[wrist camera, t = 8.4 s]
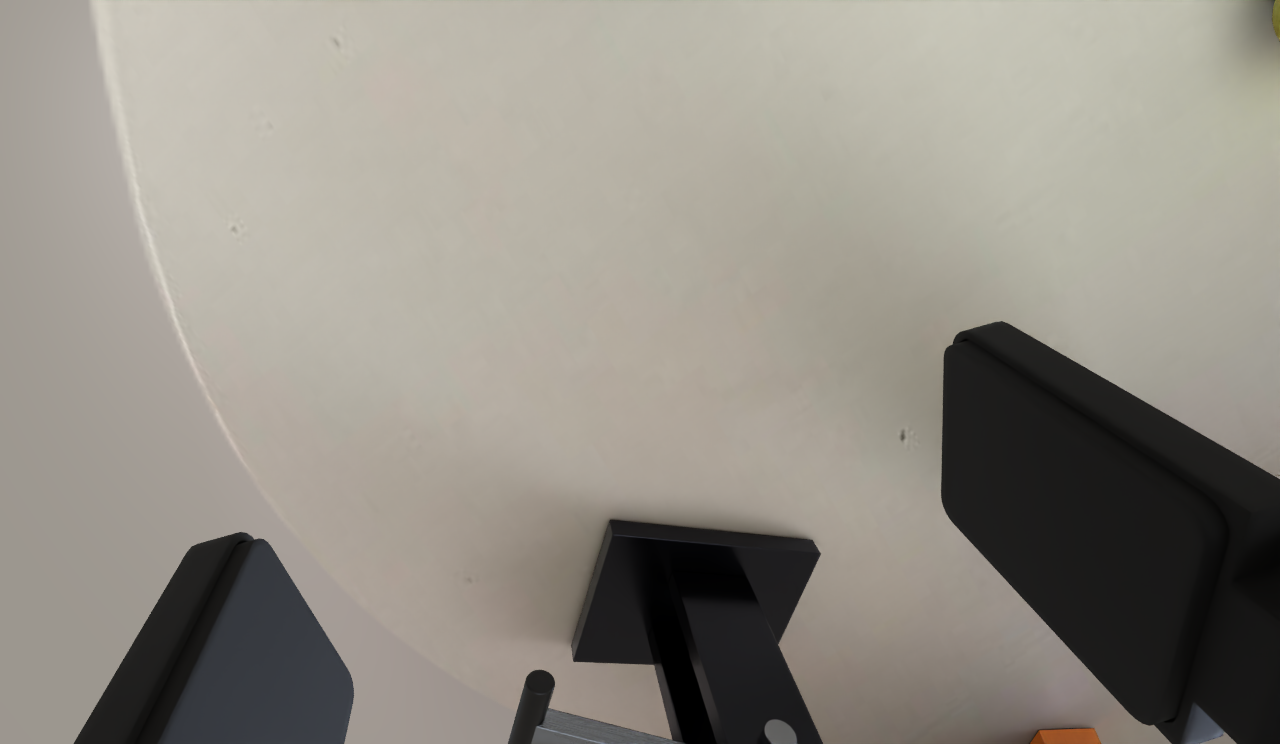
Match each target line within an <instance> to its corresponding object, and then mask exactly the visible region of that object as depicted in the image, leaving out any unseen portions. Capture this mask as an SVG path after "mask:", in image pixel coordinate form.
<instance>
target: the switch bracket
mask: <svg viewBox="0 0 1280 744" xmlns="http://www.w3.org/2000/svg"><path fill="white" fill-rule="evenodd" d="M820 555H821V553H820V551H819V550H818V548H817V547H816V545H815V543H814V542H813V540H807V539H797V538H787V537H777V536H767V535H757V534H747V533H737V532H727V531H717V530H707V529H697V528H687V527H678V526H668V525H658V524H648V523H638V522H628V521H618V520H610V521H609V524H608V527H607V530H606V534H605V537H604V540H603V543H602V547H601V550H600V553H599V556H598V560H597V563H596V566H595V569H594V573H593V576H592V579H591V582H590V586H589V589H588V592H587V595H586V599H585V602H584V605H583V608H582V612H581V615H580V618H579V621H578V625H577V628H576V631H575V635H574V638H573V641H572V644H571V648H572V656H573V661H574V662H594V663H619V664H645V665H654V666H655V670H656V674H657V679H658V683H659V687H660V691H661V695H662V699H663V703H664V707H665V711H666V715H667V719H668V723H669V727H670V731H671V735H672V739H673V740H674V741H678V742H682V743H685V744H823V742H822V740H821V738H820V735H819V733H818V731H817V729H816V727H815V725H814V722H813V720H812V718H811V716H810V714H809V711H808V709H807V707H806V705H805V703H804V700H803V698H802V696H801V694H800V692H799V690H798V687H797V685H796V683H795V681H794V679H793V676H792V674H791V672H790V670H789V668H788V665H787V663H786V661H785V659H784V657H783V654H782V652H781V650H780V648H779V646H778V644H779V642H780V640H781V637H782V635H783V633H784V631H785V629H786V627H787V625H788V623H789V620H790V618H791V616H792V614H793V612H794V610H795V608H796V606H797V604H798V601H799V599H800V597H801V595H802V593H803V591H804V589H805V587H806V584H807V582H808V580H809V578H810V576H811V574H812V572H813V570H814V568H815V565H816V563H817V561H818V559H819V557H820Z"/></svg>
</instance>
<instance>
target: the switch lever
mask: <svg viewBox="0 0 1280 744" xmlns="http://www.w3.org/2000/svg"><path fill="white" fill-rule="evenodd" d="M554 687H555V681H554V678H553V676H552V675H551V674H550V673H549V672H547V671H544V670H535V671H532V672H531V673H530V674H529V675H528V676H527V678H526V681H525V684H524V688H523V692H522V695H521V699H520V702H519V706H518V710H517V713H516V717H515V720H514V724H513V727H512V731H511V735H510V738H509V742H508V744H685V743H682V742H678V741H674V740H670V739H666V738H662V737H658V736H654V735H650V734H647V733H643V732H639V731H635V730H631V729H627V728H623V727H619V726H616V725H612V724H608V723H604V722H600V721H596V720H592V719H588V718H584V717H581V716H577V715H573V714H569V713H565V712H561V711H557V710H553V709H549V708H548V707H549V703H550V700H551V697H552V694H553V690H554Z"/></svg>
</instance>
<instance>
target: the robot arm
mask: <svg viewBox="0 0 1280 744" xmlns="http://www.w3.org/2000/svg"><path fill="white" fill-rule="evenodd" d="M941 498H942V503H943V507H944V509H945V511H946V513H947V515H948V517H949V518H950V520H951V521H952V522H953V523H954V525H955V526H956V527H957V528H958V529H959V530H960V531H961V532H962V533H963V534H964V535H965V536H966V537H967V539H968V540H969V541H970V542H971V543H972V544H973V545H974V546H975V547H976V548H977V549H978V550H979V552H980V553H981V554H982V555H983V556H984V557H985V558H986V559H987V560H988V561H989V562H990V563H991V564H992V566H993V567H994V568H995V569H996V570H997V571H998V572H999V573H1000V574H1001V575H1002V576H1003V577H1004V578H1005V580H1006V581H1007V582H1008V583H1009V584H1010V585H1011V586H1012V587H1013V588H1014V589H1015V590H1016V591H1017V593H1018V594H1019V595H1020V596H1021V597H1022V598H1023V599H1024V600H1025V601H1026V602H1027V603H1028V604H1029V605H1030V607H1031V608H1032V609H1033V610H1034V611H1035V612H1036V613H1037V614H1038V615H1039V616H1040V617H1041V618H1042V619H1043V621H1044V622H1045V623H1046V624H1047V625H1048V626H1049V627H1050V628H1051V629H1052V630H1053V631H1054V632H1055V634H1056V635H1057V636H1058V637H1059V638H1060V639H1061V640H1062V641H1063V642H1064V643H1065V644H1066V645H1067V646H1068V648H1069V649H1070V650H1071V651H1072V652H1073V653H1074V654H1075V655H1076V656H1077V657H1078V658H1079V659H1080V660H1081V662H1082V663H1083V664H1084V665H1085V666H1086V667H1087V668H1088V669H1089V670H1090V671H1091V672H1092V673H1093V675H1094V676H1095V677H1096V678H1097V679H1098V680H1099V681H1100V682H1101V683H1102V684H1103V685H1104V686H1105V687H1106V689H1107V690H1108V691H1109V692H1110V693H1111V694H1112V695H1113V696H1114V697H1115V698H1116V699H1117V700H1118V702H1119V703H1120V704H1121V705H1122V706H1123V707H1124V708H1125V709H1126V710H1127V711H1128V712H1129V713H1130V714H1131V715H1132V716H1133V717H1134V718H1135V719H1137V720H1138V721H1140V722H1141V723H1143V724H1146V725H1149V726H1150V725H1155V726H1156V727H1157V728H1158V729H1159V731H1160V732H1161V733H1162V734H1163V735H1164V736H1165V737H1166V738H1167V739H1168V740H1169V741H1170V742H1171V743H1172V744H1200V743H1203V742H1206V741H1209V740H1212V739H1215V738H1218V737H1221V736H1223V733H1224V731H1225V732H1226V733H1227V734H1228V735H1229V736H1230V737H1231V738H1232V739H1233V740H1234V741H1235V742H1236V743H1237V744H1280V479H1278V478H1277V477H1275V476H1273V475H1271V474H1270V473H1268V472H1266V471H1265V470H1263V469H1261V468H1259V467H1258V466H1256V465H1254V464H1252V463H1251V462H1249V461H1247V460H1245V459H1244V458H1242V457H1240V456H1238V455H1237V454H1235V453H1233V452H1231V451H1230V450H1228V449H1226V448H1224V447H1223V446H1221V445H1219V444H1217V443H1216V442H1214V441H1212V440H1210V439H1209V438H1207V437H1205V436H1203V435H1202V434H1200V433H1198V432H1197V431H1195V430H1193V429H1191V428H1190V427H1188V426H1186V425H1184V424H1183V423H1181V422H1179V421H1177V420H1176V419H1174V418H1172V417H1170V416H1169V415H1167V414H1165V413H1163V412H1162V411H1160V410H1158V409H1156V408H1155V407H1153V406H1151V405H1149V404H1148V403H1146V402H1144V401H1142V400H1141V399H1139V398H1137V397H1135V396H1134V395H1132V394H1130V393H1128V392H1127V391H1125V390H1123V389H1122V388H1120V387H1118V386H1116V385H1115V384H1113V383H1111V382H1109V381H1108V380H1106V379H1104V378H1102V377H1101V376H1099V375H1097V374H1095V373H1094V372H1092V371H1090V370H1088V369H1087V368H1085V367H1083V366H1081V365H1080V364H1078V363H1076V362H1074V361H1073V360H1071V359H1069V358H1067V357H1066V356H1064V355H1062V354H1060V353H1059V352H1057V351H1055V350H1054V349H1052V348H1050V347H1048V346H1047V345H1045V344H1043V343H1041V342H1040V341H1038V340H1036V339H1034V338H1033V337H1031V336H1029V335H1027V334H1026V333H1024V332H1022V331H1020V330H1019V329H1017V328H1015V327H1013V326H1012V325H1010V324H1008V323H1005V322H1002V321H1000V322H994V323H991V324H987V325H983V326H980V327H976V328H973V329H969V330H965V331H962V332H960V333H958V334H957V335H956V337H955V339H954V341H953V345H950V346H949V347H947V348H946V350H945V353H944V375H943V428H942V481H941ZM353 698H354V688H353V682H352V678H351V675H350V673H349V671H348V669H347V667H346V666H345V664H344V663H343V661H342V660H341V658H340V656H339V654H338V653H337V651H336V650H335V648H334V646H333V645H332V643H331V642H330V641H329V639H328V637H327V636H326V634H325V632H324V631H323V629H322V627H321V626H320V624H319V622H318V621H317V619H316V618H315V616H314V614H313V613H312V611H311V610H310V608H309V607H308V605H307V603H306V602H305V600H304V599H303V597H302V595H301V594H300V592H299V590H298V589H297V587H296V586H295V584H294V583H293V581H292V579H291V578H290V576H289V574H288V573H287V571H286V570H285V568H284V566H283V565H282V563H281V562H280V560H279V558H278V557H277V555H276V553H275V552H274V550H273V549H272V547H271V546H270V545H269V543H268V542H267V541H265V540H264V539H256V540H254V539H253V537H252V536H250V535H248V534H247V533H243V532H239V533H235V534H232V535H228V536H224V537H221V538H217V539H214V540H210V541H206V542H203V543H200V544H197V545H194V546H192V547H191V548H190V549H189V551H188V552H187V553H186V555H185V556H184V558H183V560H182V562H181V563H180V565H179V567H178V568H177V570H176V572H175V573H174V575H173V577H172V578H171V580H170V582H169V584H168V585H167V587H166V589H165V590H164V592H163V594H162V595H161V597H160V599H159V600H158V602H157V604H156V605H155V607H154V609H153V610H152V612H151V614H150V615H149V617H148V619H147V621H146V622H145V624H144V626H143V627H142V629H141V631H140V632H139V634H138V636H137V637H136V639H135V641H134V643H133V644H132V646H131V648H130V649H129V651H128V653H127V654H126V656H125V658H124V659H123V661H122V663H121V664H120V666H119V668H118V670H117V671H116V673H115V675H114V676H113V678H112V680H111V682H110V683H109V685H108V686H107V688H106V690H105V692H104V693H103V695H102V697H101V699H100V700H99V702H98V703H97V705H96V707H95V709H94V710H93V712H92V713H91V715H90V717H89V719H88V720H87V722H86V724H85V725H84V727H83V729H82V730H81V732H80V734H79V735H78V737H77V739H76V741H75V742H74V744H344V742H345V737H346V732H347V727H348V723H349V718H350V714H351V709H352V704H353Z"/></svg>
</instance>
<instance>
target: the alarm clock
mask: <svg viewBox="0 0 1280 744" xmlns="http://www.w3.org/2000/svg"><path fill="white" fill-rule="evenodd" d="M1030 744H1101V742H1100V740H1099V738H1098V735H1097V733H1096V731H1095V729H1094V728H1089V729H1061V730H1039V731H1038V733H1037V734H1036V735H1035V737H1034V738H1033V740H1032V741H1031V743H1030Z"/></svg>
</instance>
